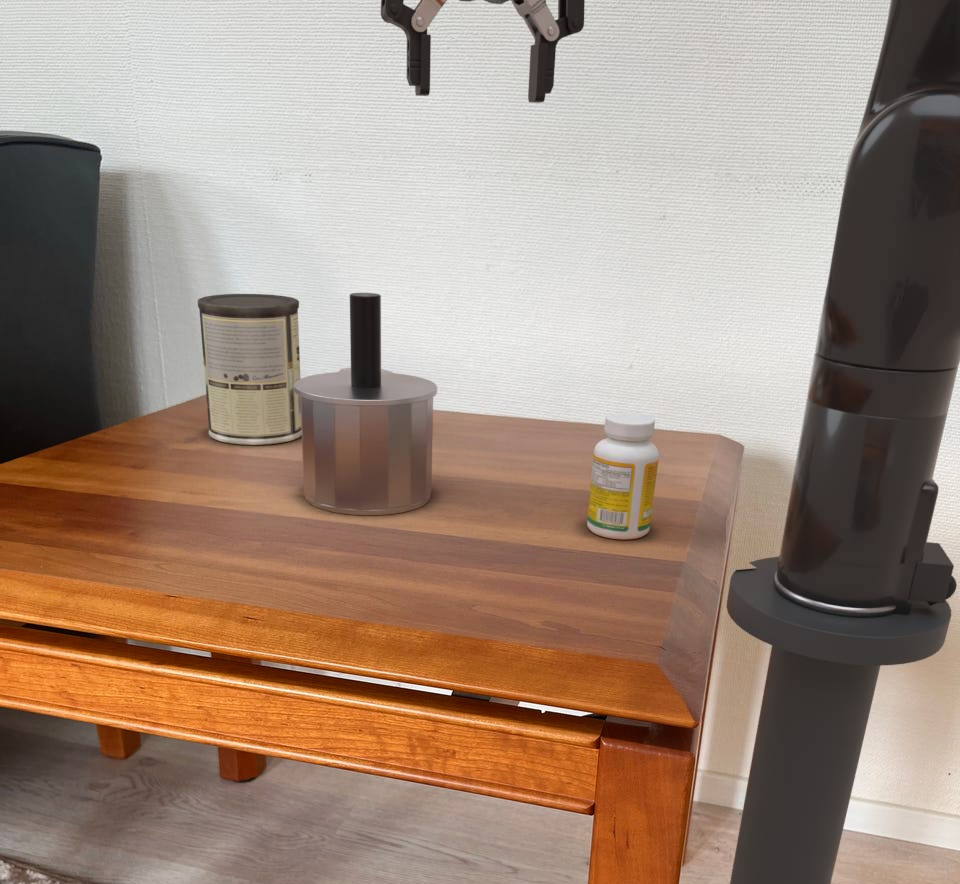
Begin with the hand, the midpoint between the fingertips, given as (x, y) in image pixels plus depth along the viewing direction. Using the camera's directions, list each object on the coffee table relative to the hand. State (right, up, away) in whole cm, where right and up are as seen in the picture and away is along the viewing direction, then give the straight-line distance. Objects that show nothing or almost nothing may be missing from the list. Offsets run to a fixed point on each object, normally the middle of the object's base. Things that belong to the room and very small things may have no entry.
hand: (480, 98), depth 74 cm
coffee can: (-25, -17, +38) cm, 48 cm away
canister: (-10, -26, +19) cm, 34 cm away
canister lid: (-10, -18, +15) cm, 25 cm away
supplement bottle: (+12, -30, +13) cm, 35 cm away
